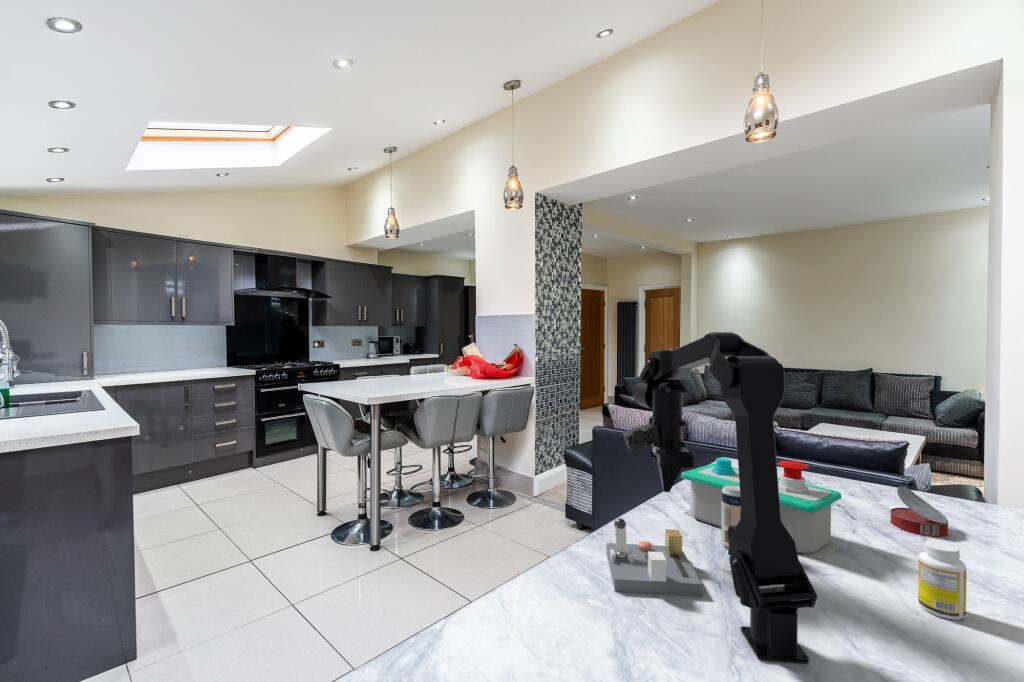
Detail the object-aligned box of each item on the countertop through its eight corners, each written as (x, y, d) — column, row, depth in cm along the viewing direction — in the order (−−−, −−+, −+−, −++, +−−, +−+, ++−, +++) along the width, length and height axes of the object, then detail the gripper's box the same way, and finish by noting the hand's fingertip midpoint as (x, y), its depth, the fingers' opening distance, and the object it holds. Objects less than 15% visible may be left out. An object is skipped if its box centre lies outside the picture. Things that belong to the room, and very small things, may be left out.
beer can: (750, 553, 94) (750, 492, 94) (724, 550, 95) (724, 490, 94) (743, 542, 98) (744, 484, 98) (718, 540, 99) (719, 483, 99)
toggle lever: (628, 559, 85) (626, 517, 88) (616, 558, 85) (614, 517, 88) (627, 560, 86) (625, 519, 90) (615, 559, 87) (613, 519, 90)
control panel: (711, 438, 122) (847, 464, 98) (710, 503, 122) (846, 543, 99) (676, 446, 113) (818, 476, 89) (676, 516, 113) (816, 564, 89)
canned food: (916, 541, 111) (935, 503, 111) (951, 556, 101) (972, 514, 101) (869, 516, 112) (888, 478, 113) (899, 528, 103) (920, 487, 103)
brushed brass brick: (682, 555, 87) (682, 536, 87) (668, 554, 87) (668, 535, 87) (678, 548, 90) (678, 529, 90) (665, 547, 90) (665, 529, 90)
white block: (666, 581, 78) (666, 560, 78) (651, 580, 78) (651, 559, 78) (662, 572, 81) (662, 552, 81) (647, 571, 81) (648, 551, 81)
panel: (701, 596, 78) (702, 575, 78) (614, 591, 79) (614, 570, 79) (680, 556, 92) (680, 539, 92) (606, 553, 93) (606, 535, 93)
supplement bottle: (939, 600, 77) (940, 537, 77) (976, 620, 72) (977, 553, 72) (908, 602, 77) (909, 538, 77) (942, 622, 71) (943, 554, 71)
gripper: (620, 406, 105) (619, 476, 105) (633, 420, 87) (632, 506, 87) (672, 407, 104) (671, 478, 104) (696, 422, 85) (695, 508, 86)
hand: (666, 491), depth 95 cm, fingers closed
